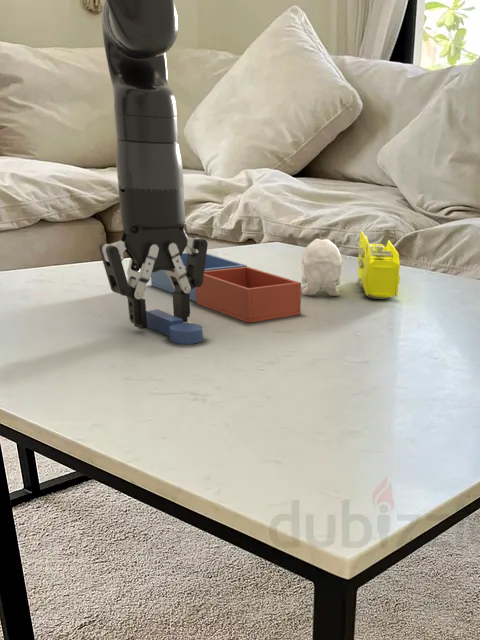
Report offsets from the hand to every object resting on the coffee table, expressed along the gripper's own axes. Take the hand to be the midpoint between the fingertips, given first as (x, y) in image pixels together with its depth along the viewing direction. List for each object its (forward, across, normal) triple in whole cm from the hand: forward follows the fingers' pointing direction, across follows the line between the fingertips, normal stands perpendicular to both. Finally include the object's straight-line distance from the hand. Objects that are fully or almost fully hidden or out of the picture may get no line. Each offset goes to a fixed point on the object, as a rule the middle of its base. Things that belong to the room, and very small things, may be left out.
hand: (160, 323), depth 101 cm
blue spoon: (+1, 0, +3) cm, 3 cm away
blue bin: (+1, -16, -16) cm, 23 cm away
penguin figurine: (+1, -33, -7) cm, 34 cm away
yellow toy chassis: (+1, -42, -3) cm, 42 cm away
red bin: (+1, -16, -3) cm, 16 cm away
